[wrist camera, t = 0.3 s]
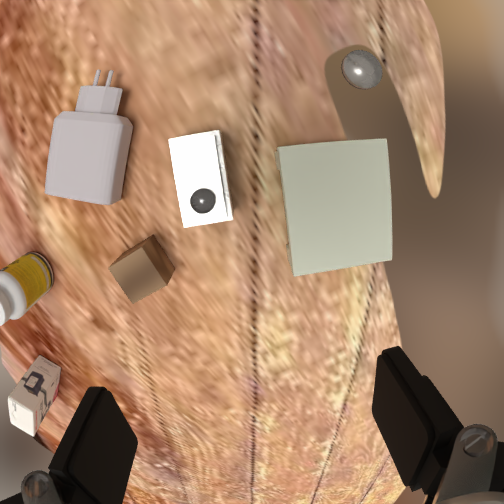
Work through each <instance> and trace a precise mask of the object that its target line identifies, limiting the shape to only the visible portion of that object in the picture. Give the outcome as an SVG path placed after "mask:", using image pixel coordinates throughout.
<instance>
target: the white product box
mask: <svg viewBox="0 0 504 504" xmlns="http://www.w3.org/2000/svg"><path fill="white" fill-rule="evenodd" d="M60 371H61V367H59V366H57V365H56V364H54V363H52V362H51V361H49V360H47V359H46V358H44V357H43V356H41V355H39V356H38V357H37V359H36V360H35V361H34V362H33V364H32V365H31V366H30V368H29V369H28V370H27V372H26V373H25V375H24V376H23V377H22V379H21V380H20V381H19V383H18V384H17V385H16V387H15V388H14V390H13V391H12V392H11V394H10V395H9V396H8V407H9V414H10V420H11V423H12V424H13V425H15V426H16V427H18V428H20V429H21V430H23V431H25V432H26V433H28V434H30V435H31V436H33V437H34V435H35V433H36V431H37V429H38V428H39V426H40V424H41V422H42V420H43V419H44V417H45V415H46V414H47V412H48V410H49V408H50V407H51V405H52V403H53V402H54V400H55V398H56V397H57V395H58V386H59V379H60Z"/></svg>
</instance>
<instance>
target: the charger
mask: <svg viewBox="0 0 504 504" xmlns="http://www.w3.org/2000/svg"><path fill="white" fill-rule="evenodd" d="M100 72H101V70H97V71H96V75H95V79H94V83H93V86H81V87H80V91H79V96H78V100H77V104H76V109H75V112H72V111H63V112H61V113H60V114H59V115H58V116H57V117H56V118H55V119H54V125H53V130H52V136H51V143H50V149H49V157H48V165H47V174H46V184H45V193H46V194H48V195H53V196H58V197H64V198H69V199H74V200H80V201H85V202H90V203H96V204H103V205H111V204H113V203H115V202H117V201H119V200H121V194H122V187H123V181H124V174H125V168H126V162H127V156H128V151H129V146H130V140H131V135H132V131H133V125H132V124H131V122H130V121H129V119H128V118H126V117H122V116H118V115H117V111H118V107H119V103H120V98H121V94H122V90H123V89H121V88H115V87H110V83H111V79H112V75H113V72H114V71H113V70H110V71H109V74H108V78H107V82H106V86H97V83H98V79H99V76H100Z"/></svg>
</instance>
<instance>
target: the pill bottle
mask: <svg viewBox="0 0 504 504" xmlns="http://www.w3.org/2000/svg"><path fill="white" fill-rule="evenodd" d="M52 284H53V272H52V269H51V267H50V265H49V263H48V262H47V260H46V259H45V258H44V257H43V256H41V255H40V254H38V253H35V252H30V253H27V254H25V255H23V256H22V257H20V258H18V259H17V260H15V261H14V262H12V263H11V264H9V265H8V266H6V267H5V268H3V269H1V270H0V326H1V325H3V324H4V323H5V322H7V321H8V320H9V319H18V318H20V317H22V316H23V315H24V314H25V313H26V312H27V311H28V310H29V309H30V308H31V307H32V306H33V305H34V304H35V303H36V302H37V301H39V300H40V299H41V298H42V297H43V296H44V295H45V294H46V293H48V291H49V290H50V289H51V287H52Z"/></svg>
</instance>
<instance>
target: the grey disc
mask: <svg viewBox="0 0 504 504" xmlns="http://www.w3.org/2000/svg"><path fill="white" fill-rule="evenodd" d="M341 70H342V74H343V76H344V78H345V79H346V81H347V82H348V83H349V84H350V85H352V86H354V87H355V88H358V89H369V88H372V87H374V86H376V85H377V84H378V83H379V82H380V80H381V78H382V67H381V65H380V63H379V61H378V60H377V59H376V57H375V56H373V55H372V54H371V53H369V52H367V51H363V50H355V51H352V52H350V53H349V54H348V55H347V56H345V58H344V59H343V61H342V64H341Z"/></svg>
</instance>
